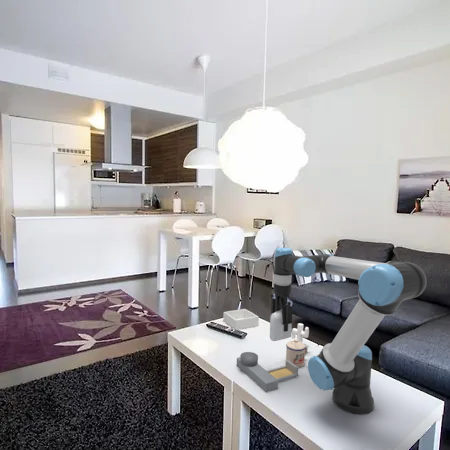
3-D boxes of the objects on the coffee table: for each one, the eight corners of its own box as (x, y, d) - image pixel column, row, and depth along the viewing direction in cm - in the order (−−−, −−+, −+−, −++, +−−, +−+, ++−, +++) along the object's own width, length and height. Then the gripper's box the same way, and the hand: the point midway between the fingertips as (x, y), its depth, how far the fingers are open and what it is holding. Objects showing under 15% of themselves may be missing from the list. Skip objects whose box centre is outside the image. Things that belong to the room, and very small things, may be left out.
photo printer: (274, 342, 142) (275, 314, 141) (268, 338, 146) (269, 311, 145) (292, 337, 147) (293, 310, 146) (286, 334, 151) (287, 307, 150)
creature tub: (258, 326, 204) (258, 316, 204) (235, 330, 197) (236, 320, 196) (244, 317, 218) (245, 308, 218) (223, 321, 211) (223, 312, 211)
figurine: (295, 347, 177) (296, 319, 176) (311, 353, 170) (312, 324, 169) (287, 351, 172) (288, 322, 171) (302, 357, 165) (304, 328, 164)
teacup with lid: (294, 369, 153) (295, 345, 152) (281, 361, 161) (282, 337, 160) (313, 363, 159) (314, 340, 158) (299, 355, 167) (300, 333, 166)
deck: (304, 380, 144) (305, 366, 144) (263, 392, 134) (264, 377, 134) (271, 356, 165) (272, 343, 165) (234, 365, 155) (235, 352, 155)
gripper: (302, 287, 138) (300, 341, 140) (277, 278, 154) (275, 327, 156) (288, 289, 135) (286, 345, 137) (264, 279, 150) (262, 329, 152)
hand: (280, 335), depth 146 cm, fingers closed on photo printer, 4 cm apart
